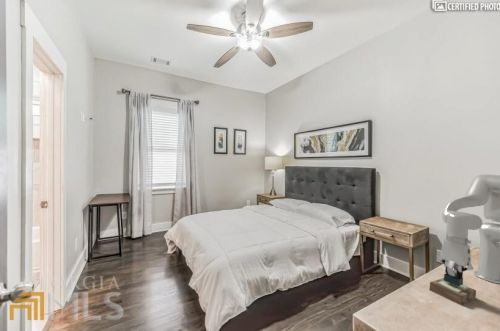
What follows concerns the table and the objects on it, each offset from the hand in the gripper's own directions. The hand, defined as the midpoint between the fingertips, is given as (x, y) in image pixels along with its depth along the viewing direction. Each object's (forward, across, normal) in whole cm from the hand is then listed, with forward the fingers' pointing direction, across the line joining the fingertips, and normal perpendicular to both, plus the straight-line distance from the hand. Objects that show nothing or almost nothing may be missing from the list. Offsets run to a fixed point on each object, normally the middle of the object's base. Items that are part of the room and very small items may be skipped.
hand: (453, 276), depth 106 cm
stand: (+9, 0, 0) cm, 9 cm away
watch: (+3, 0, 0) cm, 3 cm away
